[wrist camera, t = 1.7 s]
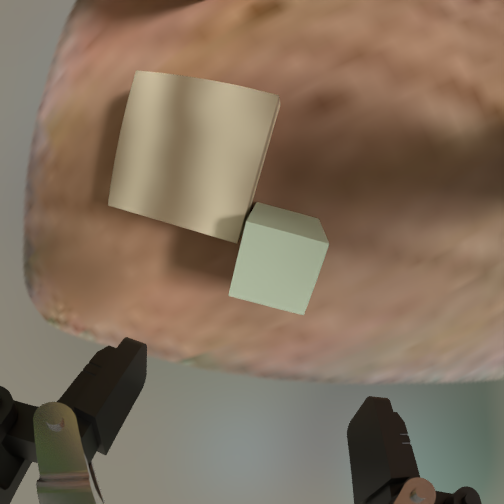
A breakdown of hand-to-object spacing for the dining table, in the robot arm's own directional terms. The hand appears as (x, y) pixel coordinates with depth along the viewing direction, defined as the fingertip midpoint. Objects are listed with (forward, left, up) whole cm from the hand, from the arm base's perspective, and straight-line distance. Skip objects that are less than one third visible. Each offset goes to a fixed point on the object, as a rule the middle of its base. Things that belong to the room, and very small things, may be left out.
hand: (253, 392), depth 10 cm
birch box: (+8, -6, -18) cm, 21 cm away
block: (0, 0, -18) cm, 18 cm away
